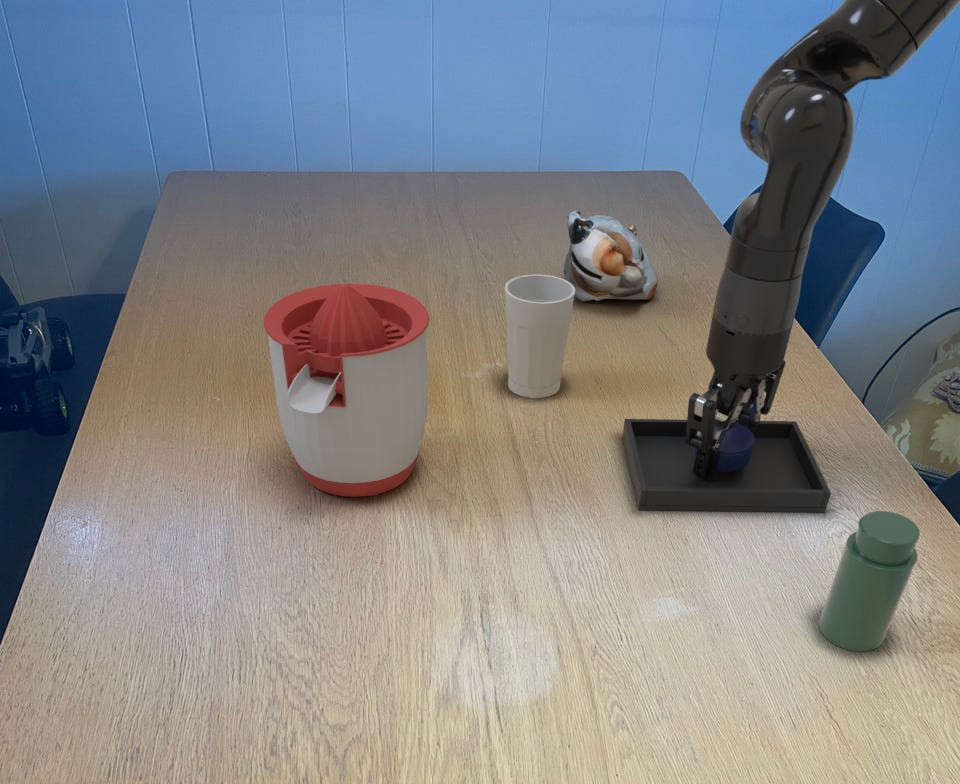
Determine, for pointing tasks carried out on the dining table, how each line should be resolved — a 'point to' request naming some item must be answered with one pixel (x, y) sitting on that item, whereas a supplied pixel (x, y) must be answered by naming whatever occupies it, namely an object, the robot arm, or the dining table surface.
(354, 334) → the citrus juicer
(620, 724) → the dining table surface
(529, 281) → the cup
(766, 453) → the tray
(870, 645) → the jar
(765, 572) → the dining table surface
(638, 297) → the lucky cat figurine
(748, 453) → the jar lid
